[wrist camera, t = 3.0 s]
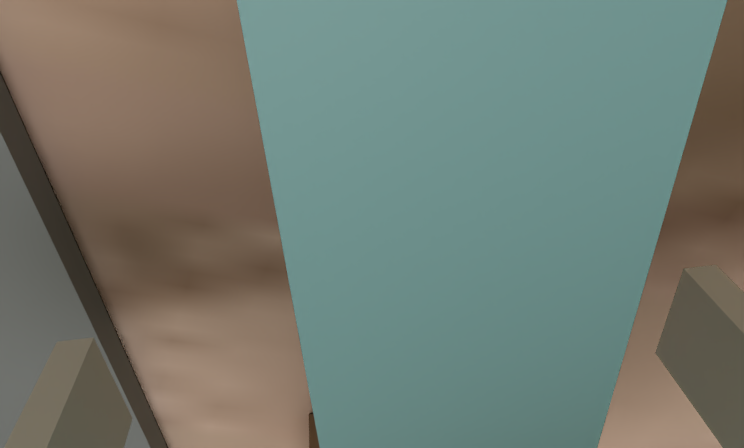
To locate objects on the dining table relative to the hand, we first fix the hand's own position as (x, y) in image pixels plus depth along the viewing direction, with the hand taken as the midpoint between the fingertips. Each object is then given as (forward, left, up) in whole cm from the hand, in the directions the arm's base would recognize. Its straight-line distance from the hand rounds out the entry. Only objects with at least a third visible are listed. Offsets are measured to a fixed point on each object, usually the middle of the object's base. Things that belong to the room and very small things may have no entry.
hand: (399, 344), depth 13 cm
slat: (0, 0, 0) cm, 0 cm away
